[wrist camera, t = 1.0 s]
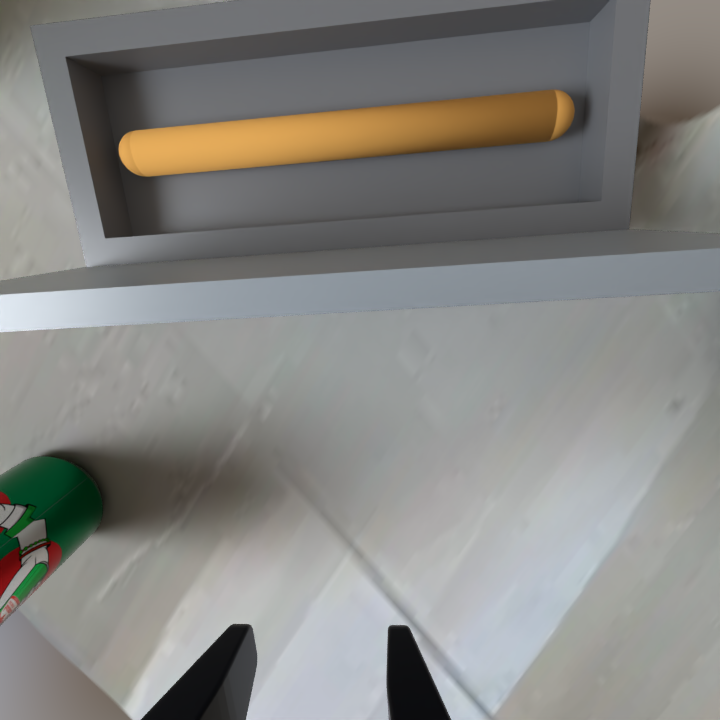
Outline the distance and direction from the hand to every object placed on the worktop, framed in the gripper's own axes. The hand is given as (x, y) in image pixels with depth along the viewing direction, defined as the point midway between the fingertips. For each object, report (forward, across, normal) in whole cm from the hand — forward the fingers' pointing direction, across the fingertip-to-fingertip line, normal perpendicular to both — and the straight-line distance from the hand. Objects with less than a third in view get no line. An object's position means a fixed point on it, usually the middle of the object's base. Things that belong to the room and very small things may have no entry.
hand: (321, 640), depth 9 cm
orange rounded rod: (+11, 0, -12) cm, 16 cm away
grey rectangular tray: (+12, 0, -12) cm, 17 cm away
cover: (+6, 0, -7) cm, 9 cm away
